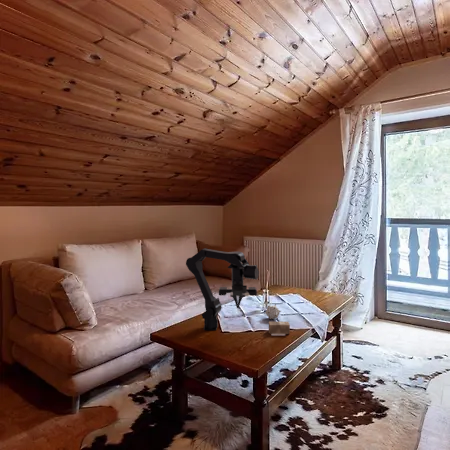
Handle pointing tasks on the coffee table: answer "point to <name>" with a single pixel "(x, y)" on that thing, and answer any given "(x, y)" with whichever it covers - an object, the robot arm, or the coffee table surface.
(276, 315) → the beige lumpy ball
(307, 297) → the coffee table surface
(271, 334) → the felt mat
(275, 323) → the cardboard box
